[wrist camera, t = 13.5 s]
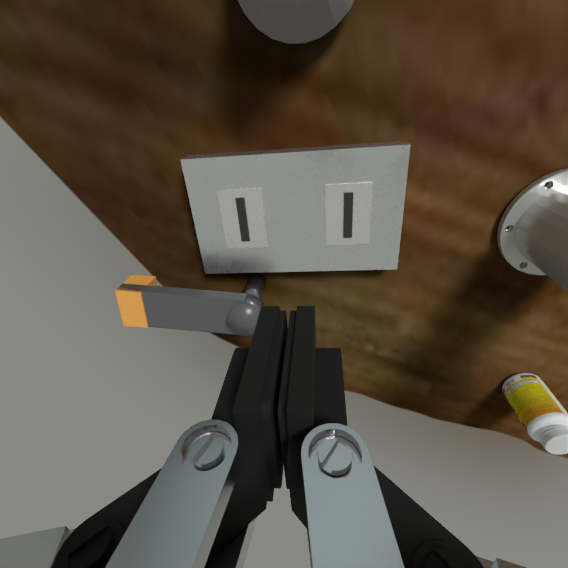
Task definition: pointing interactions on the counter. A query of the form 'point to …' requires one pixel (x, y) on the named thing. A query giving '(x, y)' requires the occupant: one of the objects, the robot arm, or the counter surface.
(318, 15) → the coffee pot
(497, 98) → the counter surface
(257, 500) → the robot arm
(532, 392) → the supplement bottle
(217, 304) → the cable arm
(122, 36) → the counter surface
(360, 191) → the panel
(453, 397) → the counter surface
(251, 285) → the pivot post
